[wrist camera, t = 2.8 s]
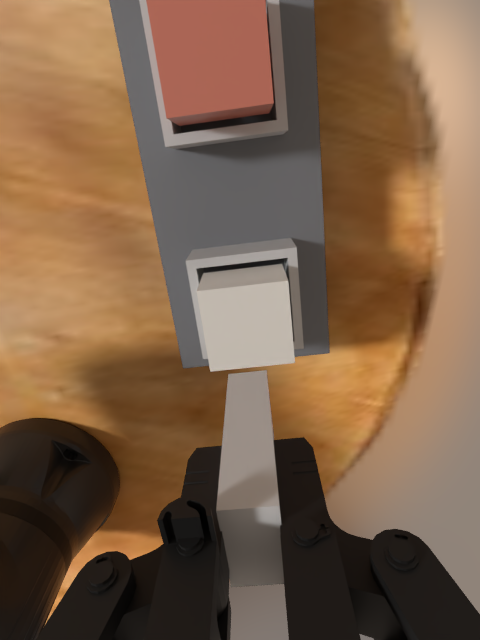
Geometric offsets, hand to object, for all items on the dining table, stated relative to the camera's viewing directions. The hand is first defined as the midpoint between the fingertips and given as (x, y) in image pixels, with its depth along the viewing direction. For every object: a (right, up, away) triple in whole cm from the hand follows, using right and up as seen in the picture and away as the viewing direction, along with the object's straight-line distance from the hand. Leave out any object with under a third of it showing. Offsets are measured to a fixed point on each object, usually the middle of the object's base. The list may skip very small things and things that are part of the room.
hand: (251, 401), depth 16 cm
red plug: (-2, +17, +6) cm, 18 cm away
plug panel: (-1, +14, +16) cm, 21 cm away
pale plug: (0, +4, +11) cm, 12 cm away
